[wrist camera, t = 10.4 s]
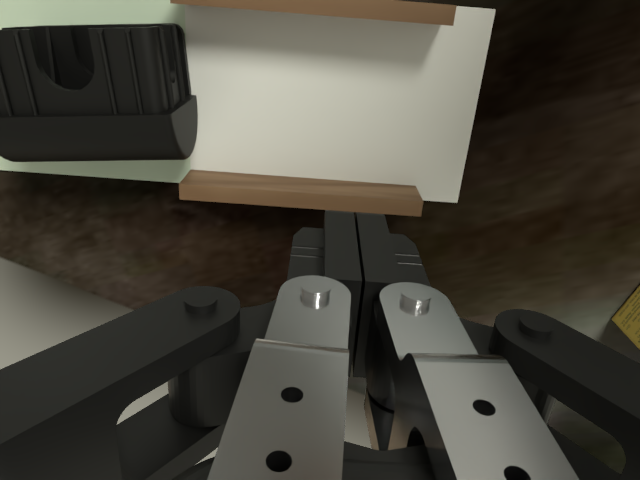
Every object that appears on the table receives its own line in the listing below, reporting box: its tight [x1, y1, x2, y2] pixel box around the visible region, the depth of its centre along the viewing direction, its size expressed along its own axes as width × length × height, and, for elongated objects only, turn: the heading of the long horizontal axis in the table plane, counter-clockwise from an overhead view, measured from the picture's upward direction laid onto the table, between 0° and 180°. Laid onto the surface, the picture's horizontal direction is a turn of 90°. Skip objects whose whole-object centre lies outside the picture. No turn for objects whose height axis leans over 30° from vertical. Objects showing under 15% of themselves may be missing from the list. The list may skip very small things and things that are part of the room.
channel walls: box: [170, 0, 457, 217], centre depth 30 cm, size 12×15×3 cm
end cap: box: [0, 23, 198, 162], centre depth 28 cm, size 10×7×7 cm
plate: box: [0, 0, 496, 203], centre depth 32 cm, size 12×32×1 cm, turn 86°
